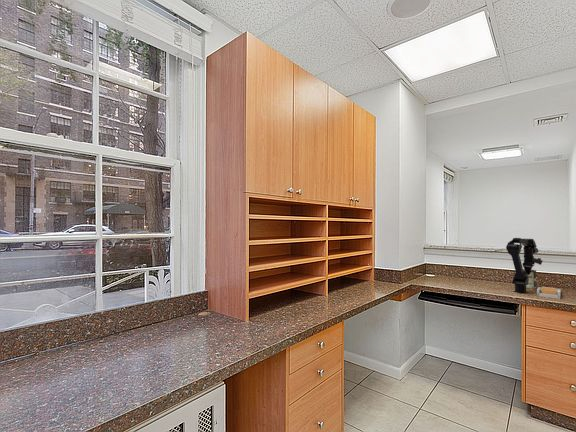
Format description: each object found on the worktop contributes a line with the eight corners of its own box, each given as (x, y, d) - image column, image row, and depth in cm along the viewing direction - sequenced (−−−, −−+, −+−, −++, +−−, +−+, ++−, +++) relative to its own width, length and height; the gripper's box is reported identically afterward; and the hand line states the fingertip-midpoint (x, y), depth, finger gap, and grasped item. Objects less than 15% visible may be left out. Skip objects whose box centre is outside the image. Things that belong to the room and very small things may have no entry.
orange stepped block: (556, 297, 215) (556, 289, 215) (541, 296, 220) (541, 287, 221) (556, 296, 220) (555, 287, 220) (541, 294, 225) (541, 286, 225)
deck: (560, 298, 212) (559, 292, 212) (537, 295, 220) (536, 289, 220) (561, 292, 232) (560, 286, 233) (540, 289, 241) (539, 284, 241)
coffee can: (530, 285, 258) (529, 269, 259) (539, 288, 248) (539, 270, 248) (517, 285, 258) (517, 269, 259) (527, 288, 248) (526, 270, 248)
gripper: (540, 256, 228) (541, 276, 228) (542, 254, 242) (543, 274, 241) (522, 255, 236) (522, 275, 235) (524, 253, 249) (525, 272, 249)
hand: (528, 274), depth 240 cm, fingers open, 9 cm apart
